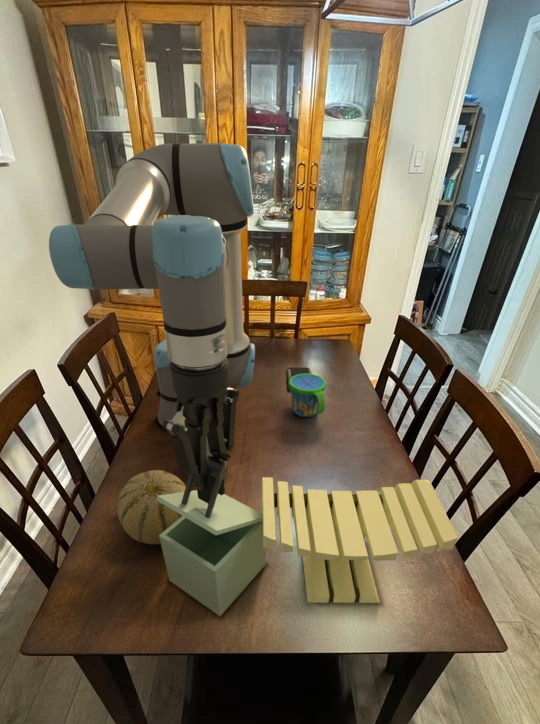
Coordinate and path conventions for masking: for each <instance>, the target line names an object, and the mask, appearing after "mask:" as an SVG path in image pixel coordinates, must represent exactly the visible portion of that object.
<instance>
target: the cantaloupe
mask: <svg viewBox="0 0 540 724" xmlns="http://www.w3.org/2000/svg"><path fill="white" fill-rule="evenodd" d="M185 488H186V484H185V483H184V482H183V481H182V479H180V478H179V477H178V476H177V475H175V474H173V473H171V472H168V471H165V470H160V469H154V470H153V469H152V470H148V471H144V472H140V473H138V474H136V475H134V476H132V477H131V478H130V479H129V480H128V481H127V482H126V483H125V486H123V488H122V490H121V491H120V494H119V496H118V499H117V509H116V510H117V511H116V512H117V513H116V514H117V517H118V520H119V522H120V525H121V526H122V529H123V530H124V532H125V533H126V534H127V535H128V536H129V537H130V538H132V540H135V541H137V542H139V543H143V544H148V545H161V542H160V538H159V535H160V534H161V533H163V532H164V531H165V530H166V529H167V528H169V527H170V526H171V525H172V524H173V523H175V522H176V521H177V520H178V519H180V518H181V517H182V515H180V514H179V513H177V512H175V511H174V510H172V509H170V508H169V507H167V506H165V505H163V504H162V503H160V502H158V501H157V500H156V499H157V496H159V495H166V494H173V493H180V492H185Z"/></svg>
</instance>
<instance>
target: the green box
mask: <svg viewBox="0 0 540 724" xmlns="http://www.w3.org/2000/svg"><path fill="white" fill-rule="evenodd" d="M159 538H160V542H161V544H160V546H161V550H162V556H163V559H164V564H165V568H166V573H167V576H168V581H169V582H170V583H172V584H174V586H176V587H178V588H179V589H181V590H182V591H183V592H185V593H186V594H187V595H189V596H190V597H192V598H193V599H194V600H195V601H198V602H199V603H200V604H202V605H203V606H204V607H206V608H207V609H209V610H211V611H212V612H213V613H214V614H216V615H217V616H219V617H221V616H222V615H223V614H224V613H225V611H226V610H227V609H228V608H229V607H230V606H231V605H232V603H233V602H234V601H235V600H236V599H237V598H238V597H239V596H240V595H241V593H242V592H243V591H245V589H246V588H247V586H248V585H249V584H250V583H251V582H252V581H253V580H254V579H255V577H256V576H257V575H258V574H259V573H260V572H261V571H262V570H263V568H264V567H265V566H266V548H263V521H261V522H258V523H254V524H251V525H248V526H245V527H242V528H238V529H235V530H232V531H229V532H225V533H222V534H219V535H214V534H212V533H211V532H209V531H207V530H206V529H204V528H202V527H201V526H199V525H197V524H196V523H194V522H192V521H190V520H189V519H187V518H185V517H184V516H182V517H181V518H180V519H178V520H177V521H176V522H175V523H173V524H172V525H171V526H170V527H169V528H167V529H166V530H165V531H164V532H163V533H161V534H160V535H159Z"/></svg>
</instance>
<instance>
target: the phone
mask: <svg viewBox="0 0 540 724" xmlns="http://www.w3.org/2000/svg"><path fill="white" fill-rule="evenodd" d="M298 374H311V368H310V367H307V366H306V367H305V366H304V367H303V366H302V367H301V366H299V367H298V366H297V367H295V366H291V367H287V387H288V388H287V389H288V390H289V381H290V379H291V378H292V377H293V376H295V375H298Z"/></svg>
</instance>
